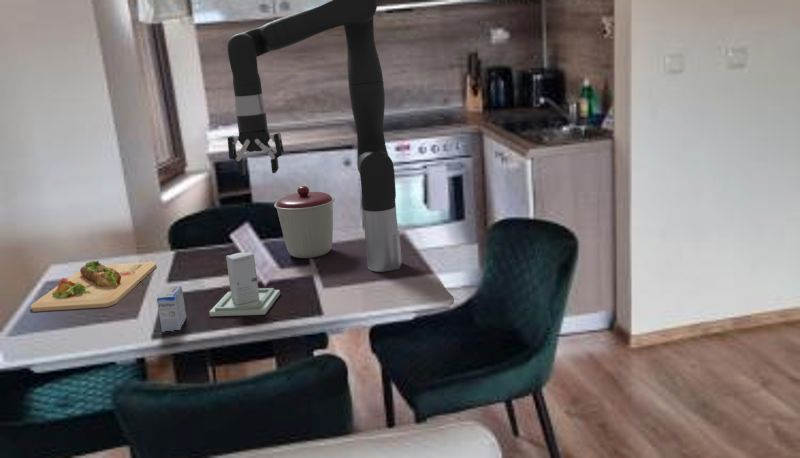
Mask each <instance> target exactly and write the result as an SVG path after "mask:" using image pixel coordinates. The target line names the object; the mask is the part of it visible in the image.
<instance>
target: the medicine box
mask: <svg viewBox="0 0 800 458" xmlns="http://www.w3.org/2000/svg"><path fill="white" fill-rule="evenodd" d="M183 291H184V290H183V287H182V286H179V285H177V286H176V285H175V286H164V287H163V289H162V290H161V292H160V294H159V295H158V297H157V298H156V303H157V309H158V315H159V321H160V326H161V331H162V333H166V332H165V331H171V332H175V331H174V330H179V331H181V330H182V328H181V327H183V326H184V323H185V321H186V319H187V313H186V305H185V298H184V293H183ZM182 325H183V326H182ZM180 329H181V330H180Z"/></svg>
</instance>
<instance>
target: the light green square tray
mask: <svg viewBox="0 0 800 458" xmlns="http://www.w3.org/2000/svg"><path fill="white" fill-rule="evenodd" d="M258 291H259V300H256V301H252V302H248V303H244V304H240V305H237V304H235V303H234V302H233V301H232V297H231V290H230V291H227V293H225V294H224V295H223V296H222V298H221V299H220V300H219V301H217V303H216V304H215V305H214V306H213V307H212V309H210V310H209V311H208V313H209V317H225V316H227V317H229V316H231V317H232V316H233V317H234V316H258V315H266V314H267V313H268V311H269V310H270V308H272V306H273V305H274V303H275V302H276V301H277V299H278V298H279V296H280V295H281V291H280V289H275V288H274V287H262V288H261V287H260V288H259V287H258Z"/></svg>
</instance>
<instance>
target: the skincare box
mask: <svg viewBox="0 0 800 458" xmlns="http://www.w3.org/2000/svg"><path fill="white" fill-rule="evenodd" d="M225 260H226V266H227V274H228V281H229V282H228V283H229V288H230V291H231V297H232V301H233V302H234V303H235V304H237V305H240V304H244V303H248V302H252V301H256V300H259V291H258V288H259V284H258V283H259V282H258V275H257V269H256V267H257V266H256V260H255V255H254V253H252V252H250V251H242V252H236V253H233V254H228V255H226V256H225Z"/></svg>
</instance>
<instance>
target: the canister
mask: <svg viewBox="0 0 800 458" xmlns="http://www.w3.org/2000/svg"><path fill="white" fill-rule="evenodd" d="M335 200H336V199H335V197H334V196H333V195H330V194H329V193H326V192H322V191H321V192H320V191H310V188H309V187H308V186H307V185H301V186H298V188H297V192H296V193H293V194H289V195H286V196H283V197H281V198H279V199H278V201H276V202H275V203H273V204H274V205H273V207H274V208H275V209H276V210H277V216H278V218H279V219H278V220H279V222H280V227H281V231H282V236H283V240H284V243H285V246H286V249H287V252H288V254H289V255H290V256H292V257H294V258H298V259H314V258H318V257H321V256H322V257H323V256H324V255H326V254H328V253H329V252H330V251H331V249H332V247H333V234H334V227H333V226H334V221H333V220H334V202H335Z"/></svg>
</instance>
